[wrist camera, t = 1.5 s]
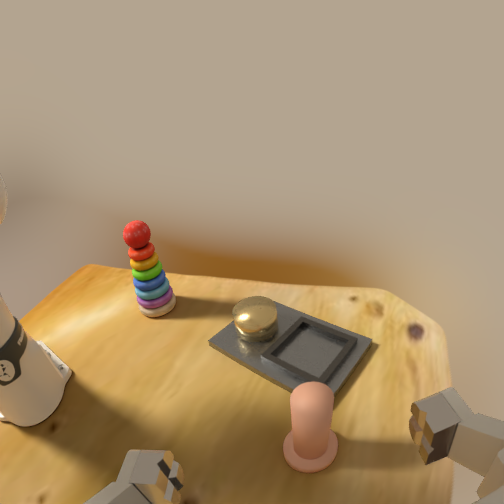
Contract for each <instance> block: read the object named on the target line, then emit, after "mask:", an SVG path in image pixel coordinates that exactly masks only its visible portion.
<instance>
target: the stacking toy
mask: <svg viewBox="0 0 504 504" xmlns="http://www.w3.org/2000/svg"><path fill="white" fill-rule="evenodd" d="M150 235H151V233H150V229H149V227H148V225H147V224H146V223H144V222H142V221H138V220H137V221H132V222H130V223H129V224H127V226H126V227H125V229H124V232H123V237H124V240H125V242H126V244H127V245H128V246H130V249H129V251H128V255H129V257H130V258H131V261H130V265H131V267H132V268H133V270H132V274H133V276H134V279H133V283H134V286H135V292H136V294H137V301H138V303H139V310H140V311H141V313H142V314H144V315H145V316H148V317H158V316H162V315H165V314H167V313H168V312H170V311H171V310H172V309H173V308H174V306H175V304H176V297H175V295H174V293H173V290H172V288H171V286H170V285H169V281H168V279H167V278H166V277H165V272H164V271H163V269H162V264H161V262H160V261H159V260H158V255H157V253H155V252H154V250H155V249H154V245H153V244H152V243H150V242H149V240H150Z"/></svg>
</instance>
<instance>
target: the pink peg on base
mask: <svg viewBox="0 0 504 504" xmlns="http://www.w3.org/2000/svg"><path fill="white" fill-rule="evenodd" d="M333 404H334V394H333V392H332V390H331V389H330V388H329V387H328V386H327V385H325V384H323V383H320V382H306V383H303V384H301V385H299V386H298V387H296V388H295V389H294V390H293V392H292V394H291V396H290V406H291V419H292V430H291V431H290V432H289V433H288V435H287V436H286V438H285V440H284V443H283V452H284V457H285V460H286V462H287V463H288V464H289V466H291V467H292V468H293V469H295V470H297V471H299V472H303V473H315V472H319V471H321V470H323V469H325V468H327V467H328V466H329V465H330V464H331V463H332V462H333V461H334V459H335V457H336V454H337V450H338V439H337V437H336V435H335V433H334V432H333V431H332V430H331V429H330V428H331V420H332V413H333Z"/></svg>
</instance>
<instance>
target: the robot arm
mask: <svg viewBox="0 0 504 504" xmlns="http://www.w3.org/2000/svg"><path fill="white" fill-rule="evenodd" d="M6 208H7V191H6V186H5V182H4V180H3V178H2V176H1V174H0V224H2V222H3V219H4V216H5V213H6ZM71 374H72V371H71V369H70V368H69V367H68V366H67V365H66V364H65V363H64V362H63V361H62V360H60V359H59V358H58V357H57V356H56V355H55V354H54V353H53V352H52V351H51V350H50V349H49V348H48V347H47V346H46V345H45V344H44V343H43V342H42V341H35V340H34V339H33V338H32V337H31V336H30V335H29V334H28V333H27V332H26V331H24V329H23V327H22V325H21V324H20V322H19V321H18V320H17V319H16V318H15V317H14V316H12V314H11V313H10V311H9V309H8V307H7V305H6V304H5V302H4V300H3V298H2V296H1V294H0V421H10V422H12V423H14V424H16V425H19V426H32V425H35V424H38V423H40V422H42V421H43V420H45V419H46V418H47V417H48V416H50V415H51V414H52V413H53V411H54V410H55V409H56V408H57V406H58V405H59V403H60V401H61V399H62V396H63V392H64V388H65V384H66V382H67V381H68V379H69V378H70V376H71ZM411 412H412V414H413V416H412V417H411V418H410V420H409V429H410V434H411V437H412V439H413V441H414V443H415V444H418V445H420V449H419V453H420V455H421V457H422V459H423V461H424V463H425V465H427V464H430V463H432V462H435V461H437V460H440V459H442V458H444V457H447V456H448V458H450V459H452V460H453V461H455V462H457V463H459V464H461V465H463V466H465V467H466V468H469V469H470V470H472V471H474V472H476V473H478V474H480V475H481V476H484V477H485V478H484V479H483V481H482V483H481V484H480V486H479V488H478V490H477V494H478V496H479V497H480V500H478V501H476V502H474V503H473V504H504V421H501V420H498V419H495V418H491V417H488V416H485V415H482V414H479V413H478V414H476V415H474V413H473V412H472V410H471V409H470V408H469V407H468V405H467V404H466V403H465V402H464V400H463V399H462V398H461V397H460V395H459V394H458V393H457V391H456V390H455V389H454V388H453V387H450V388H447V389H445V390H443V391H440V392H438V393H435V394H433V395H431V396H428V397H426V398H423V399H421V400H418V401H416V402H413V403H412V405H411ZM173 459H174V455H173V454H172V452H171V451H169V450H134V449H130V450H129V451H128V452H127V454H126V457H125V459H124V462H123V464H122V467H121V470H120V472H119V475H118V477H117V480H116V482H111V483H110V484H109V485H107V486H106V487H105V488H104V489H102V490H101V491H100V492H98V493H97V494H96V495H94V496H93V497H91V498H90V499H89V500H87V501H86V502H85V503H83V504H180V500H181V495H180V493H179V492H178V491H179V490H180V489H181V488H182V487H183V484H184V472H183V470H182V467H181V466H180V464H179V463H177V462H176V461H174V460H173Z"/></svg>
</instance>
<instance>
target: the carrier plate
mask: <svg viewBox="0 0 504 504" xmlns="http://www.w3.org/2000/svg"><path fill="white" fill-rule="evenodd" d="M232 315H233V319H234V321H232V322H231V323H230V324H229V325H227V326H226V327H225V328H224V329H222V330H221V331H220V332H219V333H217V334H216V335H215V336H213V337H212V338H211V339H210V340H208V341H209V344H210V346H211V347H213V348H215V349H216V350H218V351H219V352H221V353H223V354H224V355H226V356H228V357H229V358H231V359H232V360H234V361H236V362H237V363H239V364H241V365H243V366H244V367H246V368H248V369H249V370H251V371H253V372H255V373H256V374H258V375H260V376H262V377H263V378H265V379H267V380H269V381H270V382H272V383H274V384H276V385H278V386H279V387H281V388H283V389H285V390H287V391H289V392H291V393H292V392H293V390H294V389H295V388H296V387H298V386H299V385H301V384H303V383H306V382H320V383H323V384H325V385H327V386H328V387H329V388H330V389H331V390H332V392H333V394H334V397H335V396H336V394H337V393H338V392H339V390H340V389H341V388H342V386H343V385H344V384H345V382H346V381H347V380H348V378H349V377H350V375H351V374H352V373H353V371H354V370H355V368H356V367H357V365H358V364H359V363H360V361H361V360H362V358H363V357H364V355H365V354H366V352H367V351H368V349H369V348H370V346H371V345H372V339H370V338H367V337H365V336H362V335H359V334H357V333H354V332H351V331H349V330H346V329H343V328H341V327H338V326H336V325H333V324H330V323H328V322H325V321H323V320H320V319H317V318H315V317H312V316H310V315H307V314H305V313H302V312H300V311H297V310H295V309H292V308H290V307H287V306H285V305H282V304H280V303H277V302H275V301H272V300H271V299H269V298H266V297H262V296H254V297H248V298H245V299H243V300H241V301H239V302H238V303H237V304H236V305H235V306H234V308H233V310H232Z"/></svg>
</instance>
